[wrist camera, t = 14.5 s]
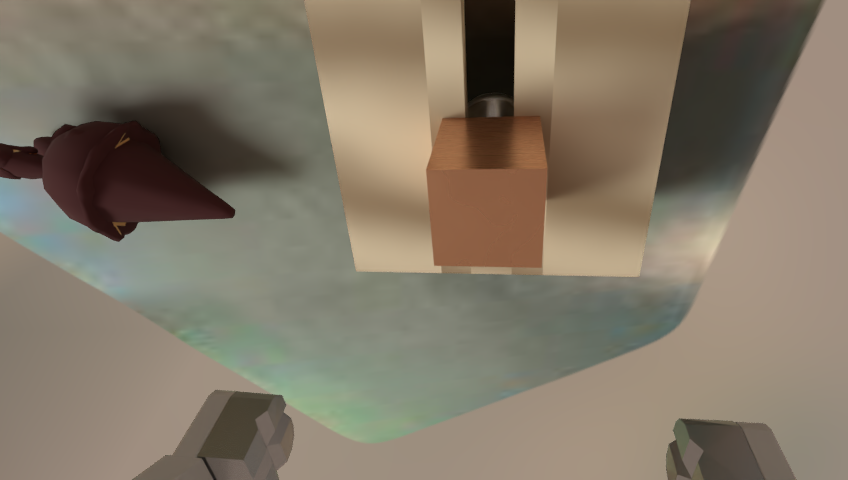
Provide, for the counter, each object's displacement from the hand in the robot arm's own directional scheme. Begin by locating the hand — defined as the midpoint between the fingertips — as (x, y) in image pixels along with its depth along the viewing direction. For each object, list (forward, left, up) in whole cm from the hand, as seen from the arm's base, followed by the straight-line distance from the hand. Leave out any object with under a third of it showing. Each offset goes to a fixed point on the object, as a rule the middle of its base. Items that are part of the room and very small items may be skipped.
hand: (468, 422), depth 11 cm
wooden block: (0, 0, -18) cm, 18 cm away
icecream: (+3, -22, -21) cm, 31 cm away
